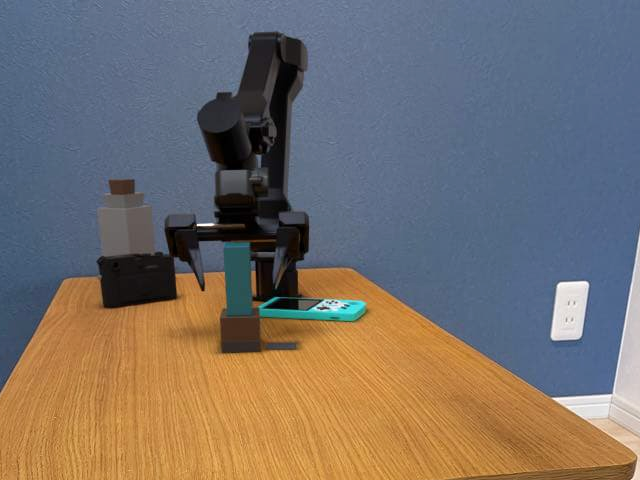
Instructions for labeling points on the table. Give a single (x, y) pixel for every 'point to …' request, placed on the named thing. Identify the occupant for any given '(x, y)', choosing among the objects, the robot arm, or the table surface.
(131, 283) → the camera
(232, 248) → the teal post in base
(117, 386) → the table surface
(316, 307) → the handheld game console
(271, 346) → the dark grey flat tile
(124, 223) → the perfume bottle
